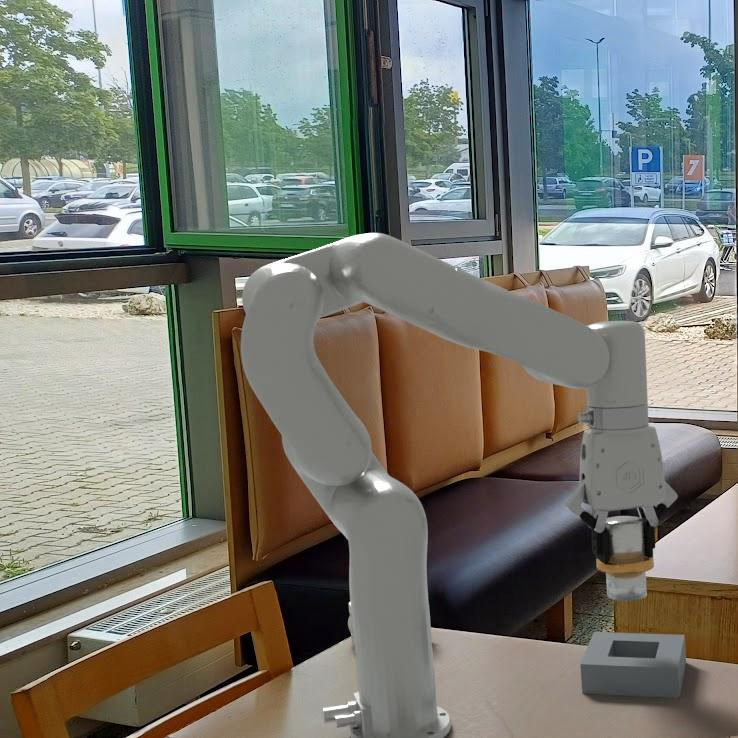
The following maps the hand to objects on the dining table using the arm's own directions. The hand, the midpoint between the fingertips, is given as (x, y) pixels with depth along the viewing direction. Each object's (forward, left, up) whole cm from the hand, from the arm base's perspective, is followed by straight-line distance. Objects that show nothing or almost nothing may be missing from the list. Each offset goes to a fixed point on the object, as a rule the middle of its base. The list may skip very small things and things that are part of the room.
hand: (624, 556), depth 147 cm
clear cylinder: (0, 0, -5) cm, 5 cm away
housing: (+1, 0, -17) cm, 17 cm away
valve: (-27, +29, -18) cm, 43 cm away
